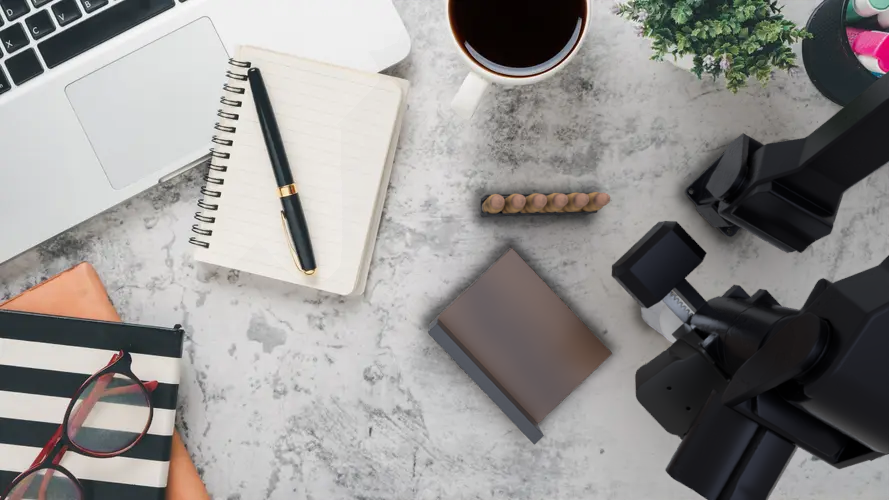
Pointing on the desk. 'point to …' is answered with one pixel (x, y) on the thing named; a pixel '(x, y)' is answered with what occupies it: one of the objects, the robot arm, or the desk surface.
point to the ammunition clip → (543, 204)
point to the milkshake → (663, 319)
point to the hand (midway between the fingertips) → (683, 318)
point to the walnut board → (518, 342)
